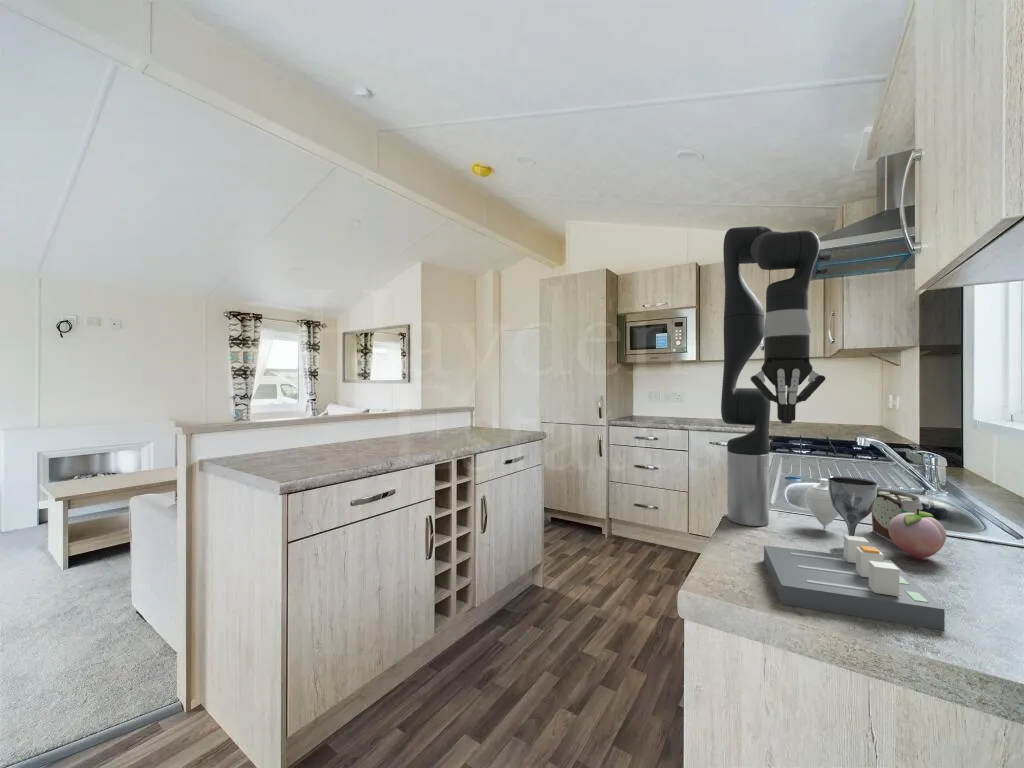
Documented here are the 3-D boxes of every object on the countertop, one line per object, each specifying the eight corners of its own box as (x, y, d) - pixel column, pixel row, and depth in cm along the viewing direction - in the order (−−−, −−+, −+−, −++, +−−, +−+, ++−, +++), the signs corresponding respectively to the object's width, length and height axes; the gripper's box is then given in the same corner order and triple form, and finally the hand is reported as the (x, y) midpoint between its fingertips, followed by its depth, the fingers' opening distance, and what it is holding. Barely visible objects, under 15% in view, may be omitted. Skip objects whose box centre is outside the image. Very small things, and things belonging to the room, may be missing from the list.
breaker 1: (843, 557, 81) (843, 535, 80) (863, 559, 79) (864, 537, 79) (848, 562, 78) (848, 539, 78) (868, 564, 77) (869, 541, 77)
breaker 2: (868, 585, 69) (868, 560, 69) (892, 589, 68) (892, 563, 68) (874, 592, 67) (874, 566, 67) (899, 596, 66) (899, 569, 66)
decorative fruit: (896, 546, 94) (896, 499, 94) (950, 559, 87) (950, 509, 87) (881, 557, 88) (881, 507, 88) (936, 571, 82) (937, 517, 81)
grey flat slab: (763, 560, 87) (763, 544, 87) (890, 577, 79) (890, 559, 79) (781, 604, 70) (781, 584, 70) (944, 630, 63) (944, 608, 63)
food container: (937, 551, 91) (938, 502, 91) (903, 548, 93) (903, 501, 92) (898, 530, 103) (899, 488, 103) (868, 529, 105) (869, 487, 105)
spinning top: (810, 533, 102) (810, 481, 102) (801, 523, 109) (801, 474, 109) (850, 537, 99) (850, 483, 99) (838, 526, 106) (838, 476, 106)
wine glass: (824, 554, 90) (824, 480, 89) (830, 543, 95) (830, 474, 95) (875, 565, 84) (875, 487, 84) (878, 553, 90) (878, 480, 90)
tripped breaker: (855, 570, 75) (856, 544, 75) (877, 573, 74) (877, 547, 74) (861, 576, 73) (861, 549, 73) (883, 579, 72) (883, 552, 72)
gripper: (821, 335, 88) (820, 422, 88) (746, 337, 93) (746, 420, 93) (832, 331, 81) (832, 426, 81) (751, 334, 86) (750, 424, 86)
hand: (786, 423), depth 87 cm, fingers closed
